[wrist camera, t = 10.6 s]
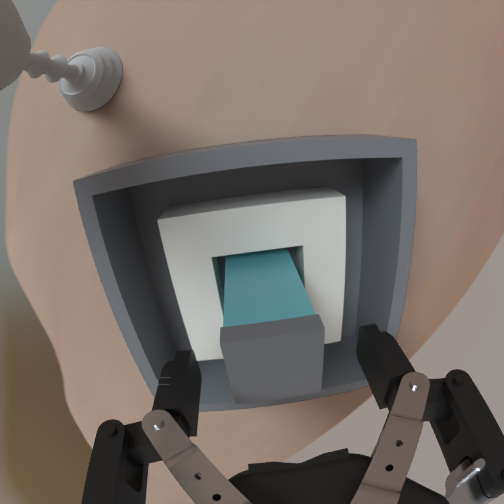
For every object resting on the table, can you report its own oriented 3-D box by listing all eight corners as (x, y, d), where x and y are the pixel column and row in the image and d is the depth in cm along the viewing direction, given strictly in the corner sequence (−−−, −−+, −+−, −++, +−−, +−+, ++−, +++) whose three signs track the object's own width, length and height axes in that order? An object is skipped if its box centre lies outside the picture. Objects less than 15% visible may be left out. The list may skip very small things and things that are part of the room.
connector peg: (284, 238, 20) (324, 328, 11) (288, 290, 22) (321, 391, 13) (224, 246, 20) (219, 343, 11) (233, 297, 22) (235, 404, 13)
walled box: (369, 134, 18) (416, 139, 13) (361, 336, 25) (385, 381, 20) (114, 165, 18) (72, 181, 12) (172, 362, 25) (162, 412, 20)
